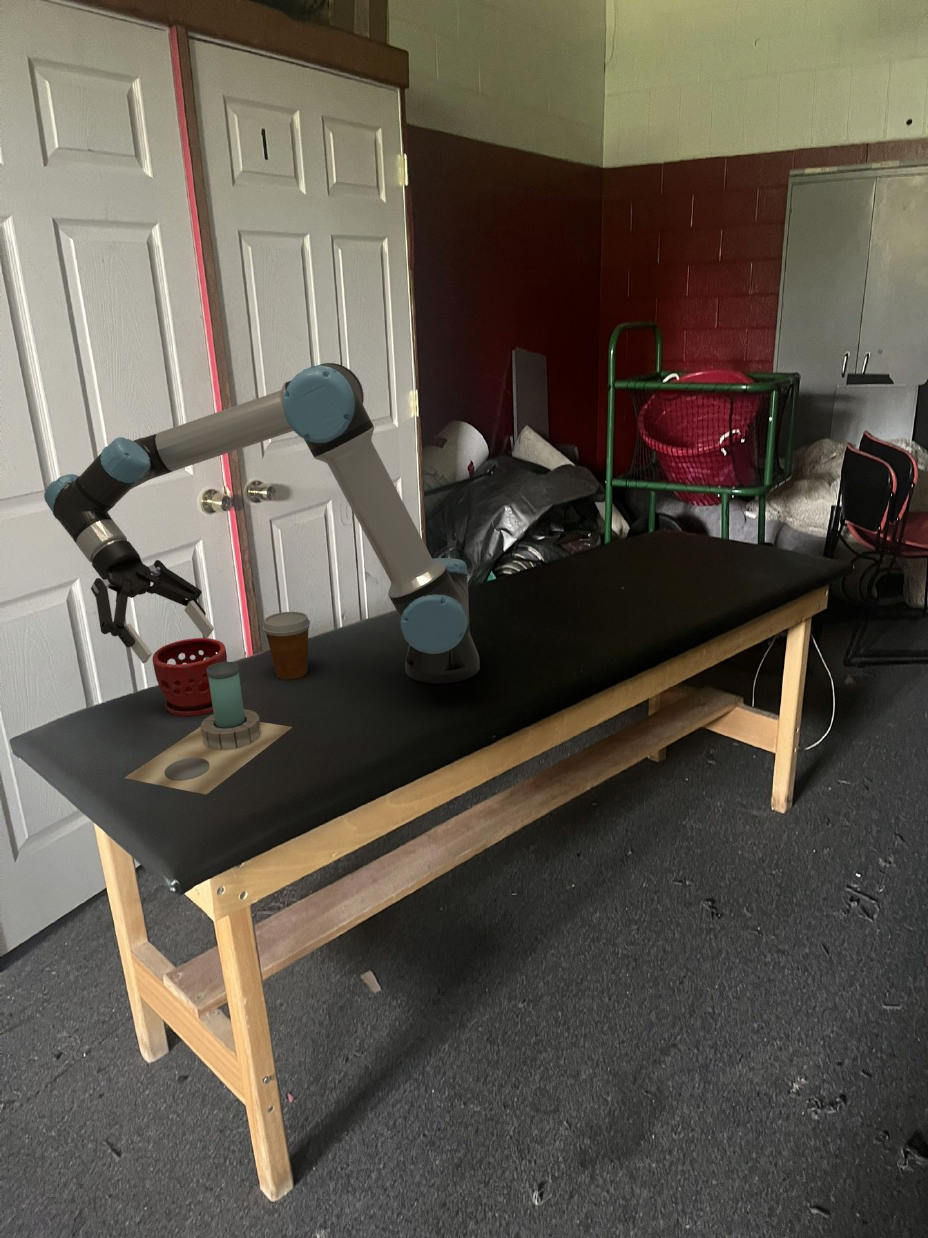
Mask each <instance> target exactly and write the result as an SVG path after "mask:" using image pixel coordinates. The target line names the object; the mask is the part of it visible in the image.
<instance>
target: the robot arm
mask: <svg viewBox="0 0 928 1238" xmlns="http://www.w3.org/2000/svg"><path fill="white" fill-rule="evenodd" d="M364 401H365V399H364V388H363V386H362V384H361V381H360V379H359V378H358V376H356V374H355V372H353V371H352V370H351V369H349V368H348V367H346V366H345V365H342V364H341V363H340V364H339V363H335V362H324V363H320V364H317V365H313V366H309V367H307V368H305V369H303V370H301V371H300V372H298V373H297V374H295V375H294V377H292V379H291V380H289V381H286V382H284V383H283V386H282V387H281V389H280V390H277V391H274V392H272V393H269V394H266V395H264V396H261V397H258V398H254V399H252V400H248V401H246V402H243V403H240V404H238V405H234V406H231V407H229V408H226V409H223V410H221V411H217V412H214V413H211V414H208V415H205V416H203V417H200V418H197V419H194V420H191V421H188V422H185V423H182V424H180V425H177V426H174V427H171V428H168V429H165V430H162V431H159V432H157V433H153V434H151V435H148V436H145V437H140V438H137V439H135V440H132V439H129V438H125V437H122V436H121V437H116V438H114V439H113V440H112V441H111V442H110V443H109V444H108V445H107V446H104V448H103V449H102V451H101V452H100V454H99V455H98V456H97V457H96V458H95V459H94V460H93V461H92V462H91V463H90V464H89V466H88V467H87V468H86V469H85V470H84V471H83V472H82V473H81V474H80V475H78V474H73V473H72V474H71V473H70V474H64V475H61V476H59V477H58V478H57V479H55V480H53V481H51V482H50V483H49V484H48V485H47V487H46V489H45V490H44V495H43V497H44V498H43V499H44V501H45V503H46V505H47V506H48V508H49V509H50V511H51V512H52V515H53V516H54V518H55V520H57V521H58V522H59V523H60V525H62V527H63V528H64V529H65V531H66V532H67V533H68V535H69V536H70V537H71V538H72V539H73V542H74V543H75V544H76V545H77V547H78V548H79V550H80V552H81V553H82V554H83V555H84V557H85V558H86V559H87V561H88V562H89V563H91V566H92V568H93V569H94V570H95V572H96V573H97V574H98V576H99V577H100V578H99V577H96V578H95V580H94V581H93V583H92V585H91V586H90V587H91V588H90V590H91V592H92V594H93V595H94V597H95V600H96V608H97V609H96V610H97V614H98V620H99V622H98V623H99V627H100V632H101V634H102V635H107V634H109V633H110V635H111V636H112V637H114V638H115V637H117V638H119V640H121V641H120V642H122V644H123V645H124V647H126V648H128V649H129V648H131V650H132V651H133V653H134V654H135V655H136V657H137V658H138V659H139V660H140V661H141V663H142V664H146V663H147V662H148V661H149V660H150V658H151V656H153V652H152V651H151V649H149V647H148V646H147V644H146V642H144V640H143V639H142V638H141V637H140V636H141V635H139V634H138V633H137V631H136V629H135V628H134V626H132V624H131V623H130V622H129V623H127V624H125V622H126V616H127V615H126V614H127V607H128V598H130V599H133V598H135V597H136V596H138V595H139V596H140V595H144V594H146V593H148V594H150V595H154V594H155V595H157V596H160V597H163V598H165V599H168V600H169V601H173V602H174V603H177V604H178V605H181V606H184V607H185V608H184V612H185V613H186V615H187V616H188V617H189V618H190V619H191V621H192V622H193V624H194V625H195V627H196V628H197V630H199V632H200V633H201V635H203V638H209V636H210V635H211V634H212V632H213V631H214V630H215V627H214V626H213V625H212V623H211V621H210V620H209V619H208V618H207V617H206V615H207V613H206V611H205V610H204V608H203V607H202V605H201V604H200V603H199V601H198V599H199V598H200V596H201V595H202V594H203V593H202V590H201V589H199V588H198V587H197V586H195V585H193V583H191V582H189V581H187V580H186V579H184V578H183V577H181V576H180V575H178V574H177V573H175V572H174V571H172V570H170V569H169V568H168V567H166V565H165V564H164V563H163V562H162V561H161V560H159V559H155V560H154V563H153V564H151V565H148V566H147V565H146V564H144V563H143V561H142V559H141V555H140V554H139V553H138V551H137V549H135V548H134V546H133V544H132V543H131V542H130V541H129V540H128V538H127V536H126V535H125V533H124V532H123V531H122V530H121V528H120V527H119V525H117V523H116V522H115V521H114V520H113V518H112V517H111V516H110V514H109V511H111V509H112V508H114V507H115V506H116V504H117V503H119V502H120V501H121V500H122V498H124V497H125V496H126V494H128V493H129V492H130V491H131V490H132V489H135V488H136V487H138V486H141V485H142V484H144V483H146V482H148V481H150V480H153V479H155V478H159V477H161V476H165V475H168V474H170V473H173V472H175V471H178V470H181V469H185V468H187V467H191V466H194V465H196V464H199V463H202V462H205V461H208V460H211V459H215V458H218V457H220V456H223V455H226V454H229V453H232V452H234V451H239V450H241V449H245V448H247V447H250V446H253V445H256V444H259V443H263V442H265V441H267V440H270V439H274V438H276V437H281V436H282V435H286V434H289V433H292V432H294V433H296V434H297V436H299V437H300V438H301V439H303V441H304V442H305V444H306V445H307V447H308V449H309V451H310V453H311V454H312V456H313V459H315V460H317V461H321V462H323V463H325V464H326V465H328V467H329V470H330V472H331V473H332V475H333V477H334V479H335V480H336V482H337V485H338V486H339V488H340V490H341V491H342V494H343V495H344V497H345V499H346V501H347V503H348V505H349V507H350V509H351V511H352V513H353V515H354V516H355V519H356V520H357V522H358V523H359V525H360V527H361V529H362V531H363V533H364V534H365V537H366V539H367V540H368V542H369V544H370V546H371V548H372V550H373V551H374V553H375V555H376V557H377V559H378V561H379V563H380V564H381V565H380V566H381V567H382V568H383V570H384V572H385V574H386V576H387V578H388V579H389V581H390V586H389V588H388V593H387V595H388V598H389V599H390V601H391V603H392V605H393V607H394V609H395V610H396V613H397V614H398V616H399V618H400V621H399V622H400V629H401V632H402V636H403V637H404V639H405V640H406V642H407V643H408V649H407V653H406V657H405V659H404V660H405V662H404V665H405V673H406V675H407V676H408V677H409V678H410V679H412V680H415V681H417V682H421V683H425V684H435V685H436V684H451V683H457V682H460V681H466V680H467V679H471V678H472V677H474V676H475V675H477V673H478V672H479V671H480V670H481V669H480V666H481V664H480V655H479V653H478V650H477V647H476V645H475V643H474V639H473V637H472V636H471V633H470V612H469V611H470V610H469V609H470V608H469V607H470V605H469V583H468V577H469V572H468V569H467V568H468V566H467V564H466V562H465V561H464V560H462V559H458V558H448V557H447V558H446V557H444V558H443V557H439V558H438V557H437V558H433V557H432V555H431V553H430V552H429V550H428V548H427V546H426V544H425V542H424V540H423V538H422V537H421V535H420V533H419V531H418V528H417V526H416V524H415V522H414V521H413V519H412V516H410V513H409V511H408V509H407V507H406V505H405V503H404V502H403V499H402V498H401V496H400V494H399V492H398V490H397V487H396V486H395V484H394V481H393V479H392V478H391V476H390V474H389V472H388V470H387V468H386V466H385V465H384V462H383V460H382V458H381V457H380V454H379V453H378V450H377V449H376V447H375V445H374V443H373V439H372V438H373V435H374V431H375V426H374V424H373V422H372V420H371V418H370V415H369V414H368V412H367V409H366V408H365V406H364ZM151 583H153V584H152V585H151ZM108 590H111V591H114V592H115V593H116V595H115V596H116V597H115V608H114V615H112V609H111V603H110V597H109V591H108Z"/></svg>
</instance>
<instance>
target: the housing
mask: <svg viewBox="0 0 928 1238" xmlns="http://www.w3.org/2000/svg"><path fill="white" fill-rule="evenodd" d="M244 715H245V723H244V724H242V725H240V726H237V727H234V728H227V729H222V728H216V725H215V719H214V713H213V714H210V715H208V717H206V718H205V719H203V721H201V723H200V724H201V725H200V726H199V727H198V728H196V729H195V730H194V731H192V732H190V733H189V734H187V735H186V736H185V737H183V738H182V739H180V740H178V741H177V742H175V743H174V744H173V745H171V746H170V747H168V748H167V749H165V750H164V751H163V752H160V753H159V754H158V755H157V756H154V757H153V758H152V759H150V760H149V761H147V762H146V763H144V764H142V765H141V766H139V768H137V769H135V770H134V771H132V772H131V773H129V774H128V775H126V776H125V777H124V779H125V780H126V779H127V780H131V781H136V782H142V783H146V784H152V785H156V786H161V787H165V788H171V789H175V790H176V789H177V790H181V791H187V792H191V793H196V794H200V795H205V796H207V795H208V794H209V793H211V792H212V791H213V790H215V788H216V787H218V786H220V785H221V784H222V783H223V782H225V781H226V780H227V779H228V778H229V777H231V776H232V775H234V774H235V773H236V772H237V771H238V770H239V769H241V768H242V767H244V766H245V765H246V764H247V763H249V762H250V761H252V759H254V758H255V757H257V755H259V754H261V753H262V752H263V751H264V750H266V748H268V747H270V745H272V744H274V742H276V741H277V740H278V739H280V738H281V737H282V736H284V735H285V734H287V732H289V731H290V730H291V729H292V728H293V726H289V725H288V726H287V725H281V724H275V723H268V722H262V721H260V715H259V714H258V713H257V712H255V711H254V710H250V709H245V708H244Z"/></svg>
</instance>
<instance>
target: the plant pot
mask: <svg viewBox="0 0 928 1238" xmlns="http://www.w3.org/2000/svg"><path fill="white" fill-rule="evenodd" d="M226 649H227V648H226V646H225V644H224V643H223V642H221V641H220V640H217V639H214V638H209V637H206V638H205V637H199V638H198V637H195V638H188V639H186V638H185V639H182V640H178V641H177V640H176V641H174V642H171V643H168V644H165V645H164V646H161V647H160V648H159V649H157V650H156V651H155V652H154V654H152V663H153V664H152V666H153V670H154V673H155V674H154V675H155V677H156V682H157V684H158V687H159V689H160V691H161V694H163V696H164V697H165V699H166V700H165V703H164V707H165V709H166V711H168V712H169V713H170V714H173V715H175V716H179V717H180V716H181V717H190V716H191V717H195V716H200V715H205V714H208V713H209V714H210V713H211V712H212V713H213V705H212V698H211V692H210V685H209V678H208V676H207V668H208V667H209V666H210V665H213V664H215V663H219V662H228V655H227V650H226ZM200 651H202V652H203V654H200V653H199V652H200ZM180 654H184V658H182V659H181V658H179V656H180ZM191 656H193V657H194V659H192V658H191ZM206 658H207V659H206ZM171 659H172V660H174V663H175V664H171V663H169V662H168V661H169V660H171Z"/></svg>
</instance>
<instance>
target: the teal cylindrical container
mask: <svg viewBox="0 0 928 1238" xmlns="http://www.w3.org/2000/svg"><path fill="white" fill-rule="evenodd" d="M207 676H208V678H209V685H210V692H211V698H212V705H213V711H212V713H213V714H214V719H215V725H216V728H222V729H227V728H234V727H237V726H240V725H242V724H244V723H245V715H244V709H245V707H244V702H243V695H242V694H243V693H242V688H241V679H240V668H239V664H238V663H237V662H235V661H227V662H219V663H215V664H213V665H210V666H209V667H208V668H207Z"/></svg>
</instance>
